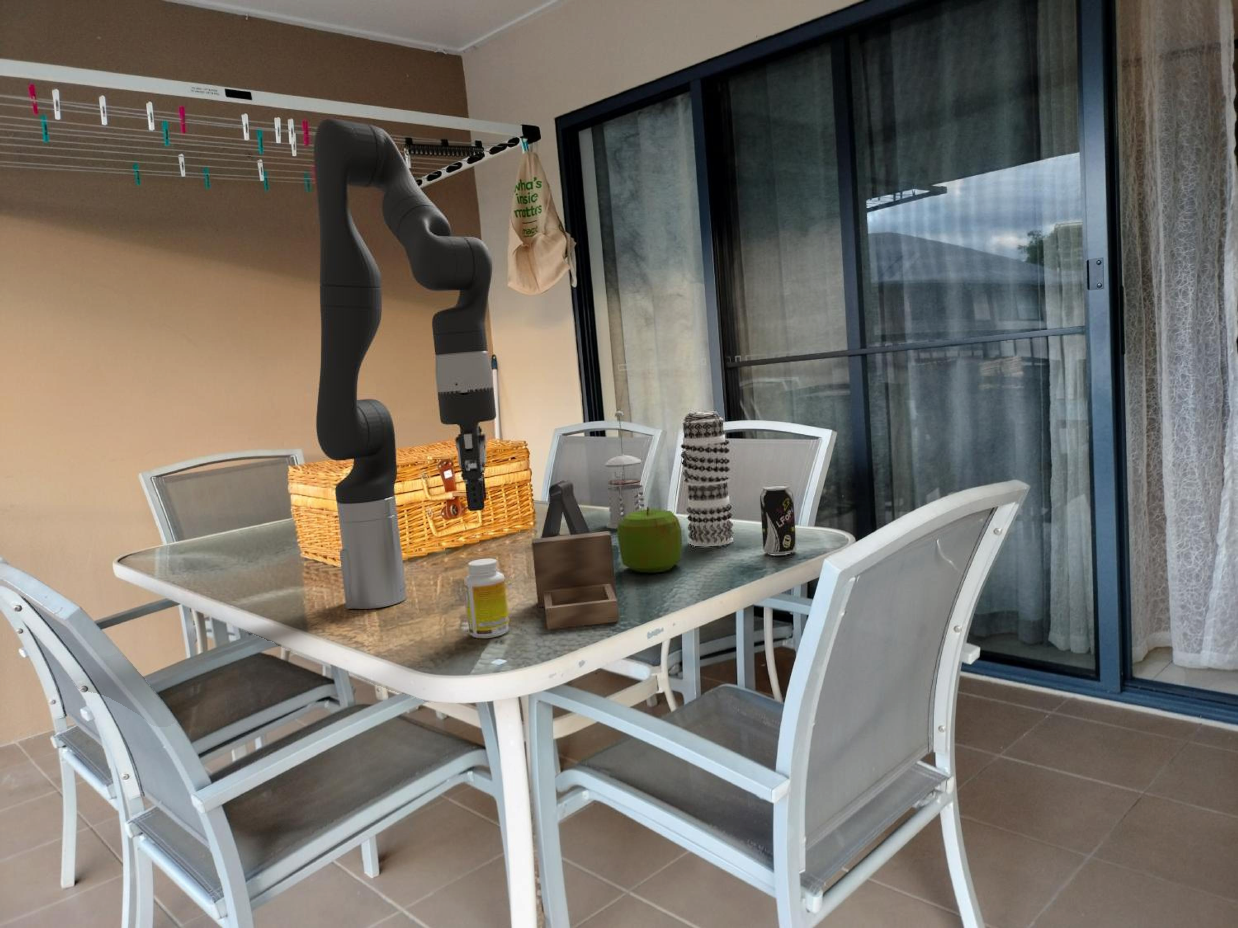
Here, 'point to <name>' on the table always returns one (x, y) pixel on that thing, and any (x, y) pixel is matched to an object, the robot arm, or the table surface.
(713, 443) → the decorative candle
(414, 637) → the table surface
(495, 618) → the supplement bottle
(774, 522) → the beverage can
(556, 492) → the phone stand
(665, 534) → the apple
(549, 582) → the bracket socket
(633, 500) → the french press
